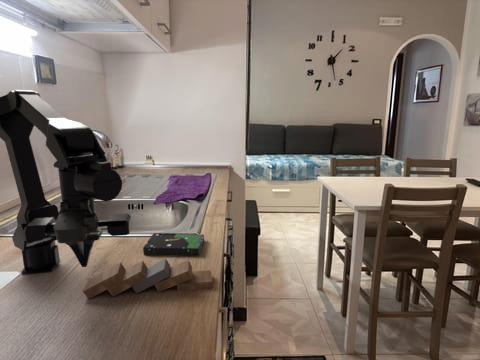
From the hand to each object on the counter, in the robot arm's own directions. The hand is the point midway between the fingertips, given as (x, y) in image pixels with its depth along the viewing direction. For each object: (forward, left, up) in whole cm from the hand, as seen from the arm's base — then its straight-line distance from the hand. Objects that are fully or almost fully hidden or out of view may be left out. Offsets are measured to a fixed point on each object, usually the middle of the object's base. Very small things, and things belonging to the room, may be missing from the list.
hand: (84, 266), depth 68 cm
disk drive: (+18, +19, -7) cm, 28 cm away
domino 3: (+10, 0, -5) cm, 11 cm away
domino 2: (+5, 0, -5) cm, 7 cm away
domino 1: (0, 0, -5) cm, 5 cm away
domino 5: (+18, 0, -6) cm, 19 cm away
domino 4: (+14, 0, -5) cm, 15 cm away
